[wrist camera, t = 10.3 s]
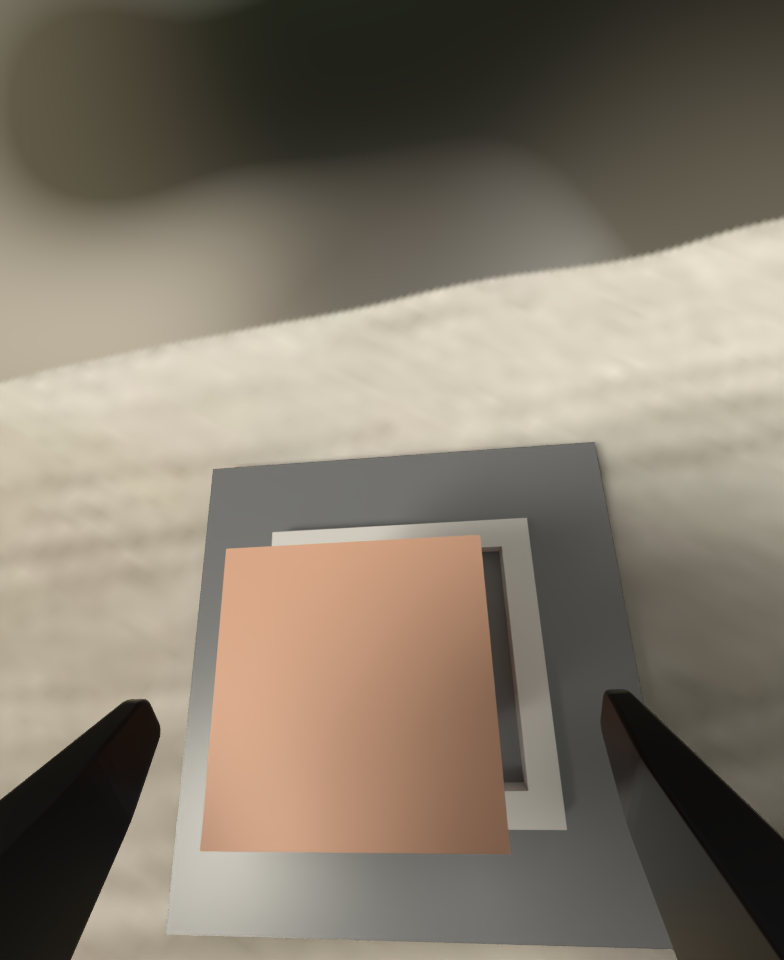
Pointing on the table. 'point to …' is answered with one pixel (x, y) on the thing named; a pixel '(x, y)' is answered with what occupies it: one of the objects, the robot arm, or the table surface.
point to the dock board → (519, 699)
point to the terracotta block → (355, 702)
